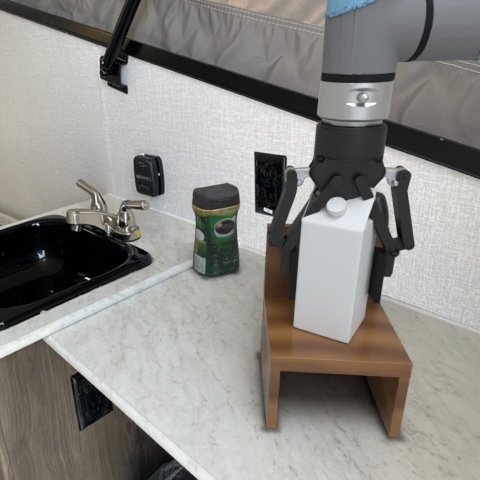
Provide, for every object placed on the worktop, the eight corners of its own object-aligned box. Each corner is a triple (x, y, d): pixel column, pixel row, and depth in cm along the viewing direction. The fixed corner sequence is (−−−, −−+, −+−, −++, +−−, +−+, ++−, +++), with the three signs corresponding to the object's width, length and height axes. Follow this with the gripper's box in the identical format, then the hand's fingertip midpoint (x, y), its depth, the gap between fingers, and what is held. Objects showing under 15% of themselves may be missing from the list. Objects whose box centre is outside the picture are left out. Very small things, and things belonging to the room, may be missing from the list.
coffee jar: (225, 257, 112) (226, 177, 105) (244, 271, 105) (247, 186, 98) (187, 266, 108) (185, 184, 101) (204, 281, 101) (204, 194, 94)
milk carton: (312, 304, 70) (324, 173, 63) (364, 319, 66) (384, 181, 59) (292, 327, 65) (303, 187, 57) (348, 345, 61) (367, 197, 54)
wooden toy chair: (398, 437, 61) (429, 278, 53) (266, 428, 63) (276, 274, 55) (366, 359, 76) (387, 224, 67) (260, 353, 78) (267, 223, 70)
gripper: (251, 127, 53) (244, 307, 62) (474, 125, 50) (434, 315, 59) (249, 116, 60) (243, 280, 69) (445, 113, 57) (413, 285, 66)
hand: (331, 296), depth 64 cm, fingers open, 10 cm apart
